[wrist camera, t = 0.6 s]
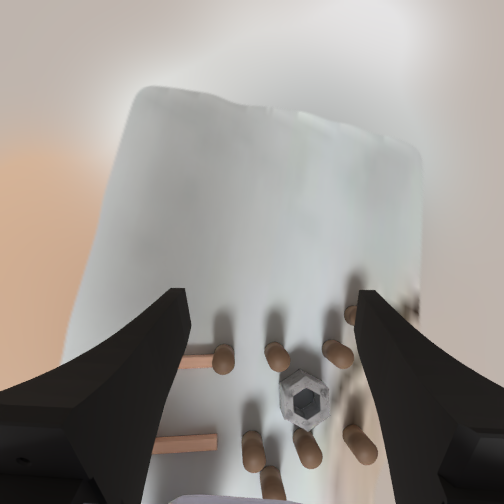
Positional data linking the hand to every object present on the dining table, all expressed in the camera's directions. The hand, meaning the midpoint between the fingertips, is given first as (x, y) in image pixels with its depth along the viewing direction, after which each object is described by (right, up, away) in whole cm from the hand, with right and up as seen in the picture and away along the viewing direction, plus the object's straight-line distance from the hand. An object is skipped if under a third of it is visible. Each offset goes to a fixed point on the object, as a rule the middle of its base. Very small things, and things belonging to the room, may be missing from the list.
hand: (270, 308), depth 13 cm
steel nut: (+5, -15, +25) cm, 29 cm away
